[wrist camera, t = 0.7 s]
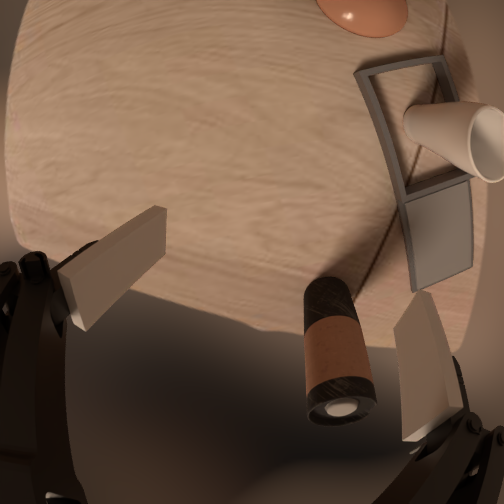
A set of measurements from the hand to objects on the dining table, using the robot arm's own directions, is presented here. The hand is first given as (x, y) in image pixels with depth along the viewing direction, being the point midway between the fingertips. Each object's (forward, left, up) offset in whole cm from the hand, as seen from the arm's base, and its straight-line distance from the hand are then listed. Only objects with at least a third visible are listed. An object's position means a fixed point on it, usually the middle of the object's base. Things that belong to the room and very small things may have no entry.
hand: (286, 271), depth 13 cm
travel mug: (+20, -1, -22) cm, 30 cm away
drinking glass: (0, +19, -22) cm, 29 cm away
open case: (+8, +19, -22) cm, 30 cm away
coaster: (-18, +19, -22) cm, 34 cm away
